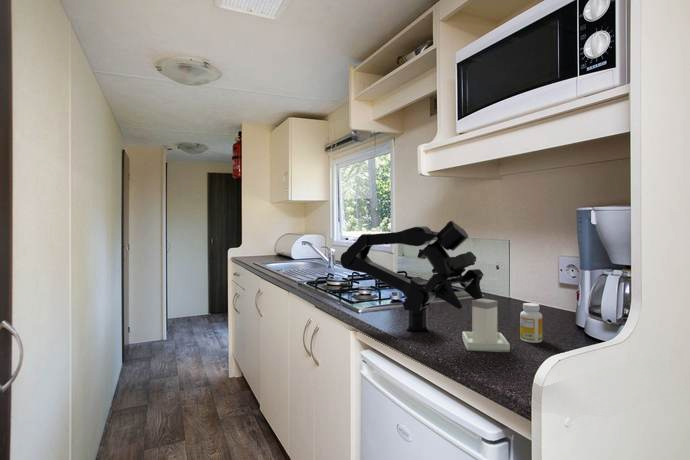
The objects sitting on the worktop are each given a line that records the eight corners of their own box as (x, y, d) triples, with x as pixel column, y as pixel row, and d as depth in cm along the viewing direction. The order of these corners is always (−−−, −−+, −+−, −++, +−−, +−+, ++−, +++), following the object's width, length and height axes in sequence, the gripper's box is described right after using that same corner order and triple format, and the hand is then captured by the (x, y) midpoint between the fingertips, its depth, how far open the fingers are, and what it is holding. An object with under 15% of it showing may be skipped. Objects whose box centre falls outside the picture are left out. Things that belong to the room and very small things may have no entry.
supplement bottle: (536, 337, 111) (535, 302, 111) (546, 343, 106) (546, 306, 105) (516, 337, 111) (516, 302, 110) (526, 343, 105) (526, 306, 105)
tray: (462, 338, 110) (462, 331, 110) (500, 340, 108) (500, 332, 108) (467, 350, 100) (467, 342, 100) (509, 352, 99) (509, 344, 99)
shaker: (472, 342, 105) (471, 300, 105) (482, 339, 107) (482, 298, 107) (487, 346, 101) (487, 303, 101) (497, 343, 104) (497, 300, 104)
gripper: (432, 243, 105) (467, 291, 97) (478, 241, 116) (512, 284, 107) (411, 270, 112) (441, 317, 103) (456, 265, 123) (487, 308, 114)
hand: (472, 306), depth 107 cm, fingers open, 9 cm apart
